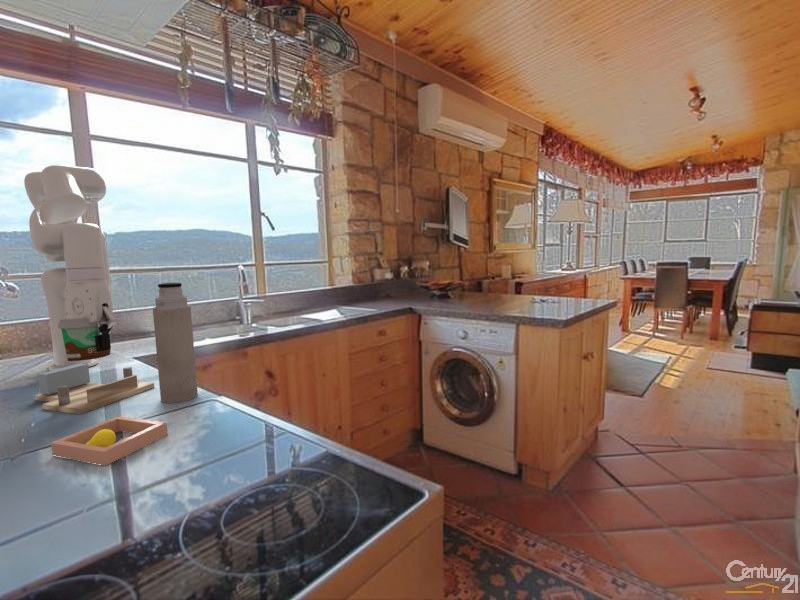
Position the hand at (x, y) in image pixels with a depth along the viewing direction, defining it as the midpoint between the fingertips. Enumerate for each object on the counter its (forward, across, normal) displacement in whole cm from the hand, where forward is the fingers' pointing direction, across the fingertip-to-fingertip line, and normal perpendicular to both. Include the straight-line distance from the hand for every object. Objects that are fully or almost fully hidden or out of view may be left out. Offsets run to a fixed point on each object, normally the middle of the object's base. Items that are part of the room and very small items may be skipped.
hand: (94, 349), depth 102 cm
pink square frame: (+12, +29, -19) cm, 37 cm away
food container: (+2, +1, 0) cm, 2 cm away
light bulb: (+13, +28, -21) cm, 37 cm away
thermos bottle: (+12, +20, +5) cm, 24 cm away
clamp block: (+11, -12, 0) cm, 16 cm away
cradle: (+12, -4, 0) cm, 13 cm away
